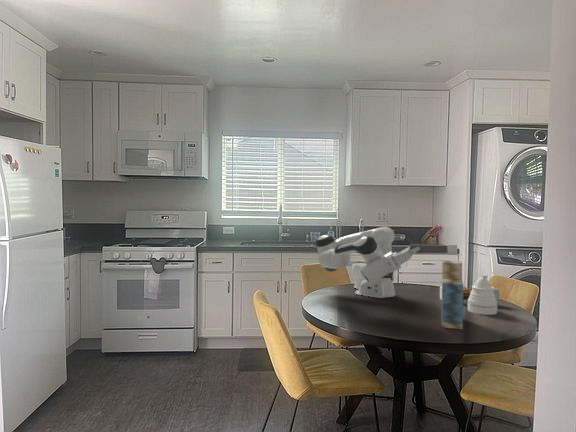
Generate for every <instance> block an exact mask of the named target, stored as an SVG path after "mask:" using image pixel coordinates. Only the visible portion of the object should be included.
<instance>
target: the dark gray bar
mask: <svg viewBox="0 0 576 432" xmlns="http://www.w3.org/2000/svg"><path fill="white" fill-rule="evenodd" d="M418 246H419V247H420V250H419V251H417V252H416V253H419V252H420V253H447V254H458V244H457V243H447V244H444V245H443V244H442V245H441V244H415V243H414V244H413V243H410V244H409V247H410V250H411V249H414V248H416V247H418Z"/></svg>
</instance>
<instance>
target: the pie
mask: <svg viewBox="0 0 576 432" xmlns="http://www.w3.org/2000/svg"><path fill="white" fill-rule="evenodd" d="M471 291H472V289H470V288H469V287H466V286H463V299H464V297H465V298H469V295H470V292H471Z"/></svg>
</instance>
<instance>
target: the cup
mask: <svg viewBox="0 0 576 432" xmlns="http://www.w3.org/2000/svg"><path fill="white" fill-rule="evenodd" d="M364 265H365V263H361V262H360V263H358V262H356V263H353V264H352V265H351V273H352V276H353V279H354V287H353V289H354V288H356V289H355V290H357V289H359V287H360V283H361V282H362V281H363V280H365V278H364V276H363V275H362V273H361V268H363V267H364Z"/></svg>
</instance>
